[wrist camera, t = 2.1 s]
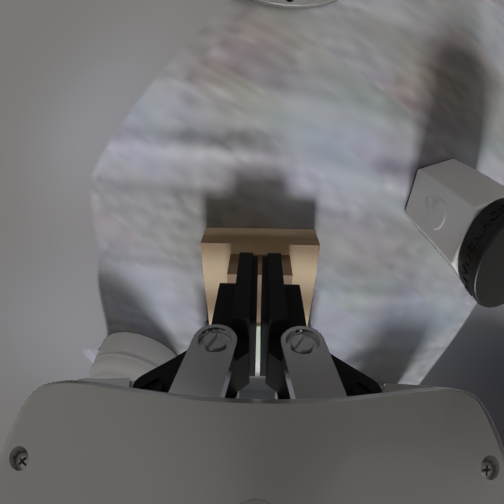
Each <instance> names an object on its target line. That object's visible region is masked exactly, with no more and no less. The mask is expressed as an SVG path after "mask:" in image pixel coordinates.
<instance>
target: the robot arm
mask: <svg viewBox="0 0 504 504" xmlns="http://www.w3.org/2000/svg"><path fill="white" fill-rule="evenodd" d="M252 1H255V2H258V3H260V4H263V5H268V6H273V7H277V8H287V9H309V8H315V7H321V6H324V5H327V4H330V3H333V2H336V1H337V0H292V2H287V1H286V0H252ZM257 286H258V256H253V253H248V252H240V254H239V262H238V269H237V277H236V283H220V284H219V288H218V293H217V298H216V303H215V308H214V313H213V318H212V323H211V325H207V326H205V327H203V328H201V329H200V330H198V331H197V332H196V334H195V335H194V337H193V339H192V341H191V343H190V346H189V348H188V350H187V351H185V352H184V353H182V354H180V355H178V356H176V357H175V358H173V359H171V360H169V361H167V362H166V363H164V364H162V365H160V366H158V367H156V368H155V369H153V370H151V371H149V372H147V373H145V374H143V375H142V376H140V377H139V378H138V379H137V380H134V381H131V379H130V378H89V379H88V378H86V379H79V380H65V381H57V382H52V383H48V384H45V385H42V386H41V387H38V388H37V389H36V390H35V391H34V392H33V393H32V394H31V395H30V396H29V397H28V399H27V400H26V402H25V403H24V405H23V406H22V408H21V410H20V411H19V413H18V415H17V417H16V419H15V421H14V423H13V425H12V427H11V429H10V431H9V433H8V436H7V438H6V441H5V443H4V446H3V449H2V451H1V454H0V504H504V449H503V446H502V443H501V441H500V438H499V436H498V433H497V430H496V428H495V426H494V424H493V422H492V419H491V417H490V416H489V414H488V412H487V410H486V409H485V407H484V405H483V404H482V403H481V401H480V400H479V399H478V398H477V397H475V396H474V395H472V394H471V393H468V392H466V391H462V390H457V389H452V388H439V387H434V386H428V385H408V384H392V383H385V384H384V386H381V385H378V383H376V382H375V381H374V380H373V379H371V378H369V377H368V376H366V375H364V374H363V373H361V372H359V371H358V370H356V369H354V368H353V367H351V366H349V365H348V364H346V363H345V362H343V361H341V360H340V359H338V358H336V357H335V356H333V355H332V354H330V352H329V350H328V347H327V345H326V342H325V340H324V338H323V336H322V335H321V333H319V332H318V331H317V330H315V329H313V328H311V327H307V325H306V319H305V313H304V307H303V301H302V295H301V289H300V285H299V284H284V278H283V268H282V259H281V253H268V254H267V256H262V285H261V328H260V376H265V384H267V385H268V386H269V387H270V388H272V389H273V390H274V391H275V399H239V392H240V391H239V390H241V389H242V388H244V387H245V386H246V385H248V384H249V379H250V376H255V366H256V329H257Z"/></svg>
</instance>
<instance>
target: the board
mask: <svg viewBox="0 0 504 504" xmlns="http://www.w3.org/2000/svg"><path fill="white" fill-rule="evenodd" d="M319 249H320V244H319V241H318V238H317V235H316V232H315V230H312V229H276V228H219V227H206V230H205V233H204V235H203V238H202V241H201V253H202V263H203V273H204V283H205V292H206V301H207V310H208V318H209V325H211V323H212V318H213V313H214V308H215V303H216V298H217V293H218V288H219V284H220V283H227V271H228V265H229V260H230V254H240V252H248V253H253V254H260V255H267V254H268V253H281V255H290V260H291V267H292V274H293V278H292V284H299V285H300V289H301V295H302V301H303V307H304V313H305V319H306V325H308V320H309V314H310V308H311V302H312V296H313V290H314V284H315V277H316V270H317V264H318V257H319Z"/></svg>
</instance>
